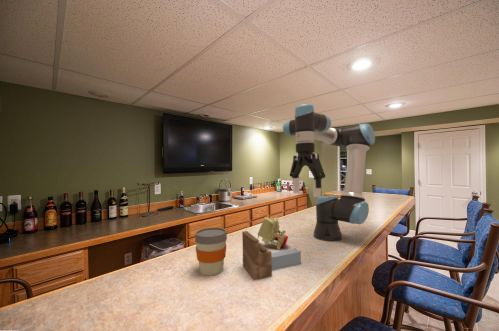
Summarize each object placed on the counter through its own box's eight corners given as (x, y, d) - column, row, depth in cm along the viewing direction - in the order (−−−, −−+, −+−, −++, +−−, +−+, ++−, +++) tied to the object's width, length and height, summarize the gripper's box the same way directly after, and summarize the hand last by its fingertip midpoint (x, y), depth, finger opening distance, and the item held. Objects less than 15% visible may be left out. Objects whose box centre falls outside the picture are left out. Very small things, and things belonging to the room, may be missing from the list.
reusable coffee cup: (232, 264, 87) (231, 228, 87) (218, 280, 75) (217, 238, 75) (206, 261, 91) (205, 226, 91) (188, 275, 79) (188, 235, 80)
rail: (295, 259, 91) (295, 247, 91) (301, 263, 87) (300, 251, 87) (252, 269, 83) (252, 255, 83) (257, 273, 79) (257, 260, 80)
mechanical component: (284, 264, 101) (300, 226, 100) (251, 247, 105) (267, 211, 103) (284, 257, 109) (299, 222, 108) (254, 242, 112) (268, 208, 111)
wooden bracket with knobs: (258, 262, 89) (257, 229, 89) (271, 276, 78) (271, 238, 78) (242, 265, 86) (242, 231, 86) (254, 280, 75) (253, 240, 75)
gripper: (281, 146, 97) (282, 192, 96) (317, 138, 73) (319, 199, 73) (295, 146, 99) (296, 191, 99) (334, 139, 76) (336, 197, 76)
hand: (306, 194), depth 86 cm, fingers open, 13 cm apart
